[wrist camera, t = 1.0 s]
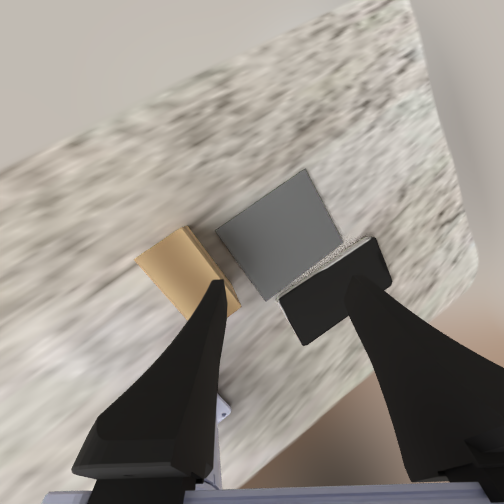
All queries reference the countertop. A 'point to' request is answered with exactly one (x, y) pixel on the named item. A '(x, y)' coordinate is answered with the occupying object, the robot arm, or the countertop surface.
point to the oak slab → (184, 271)
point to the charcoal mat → (281, 235)
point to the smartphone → (331, 290)
